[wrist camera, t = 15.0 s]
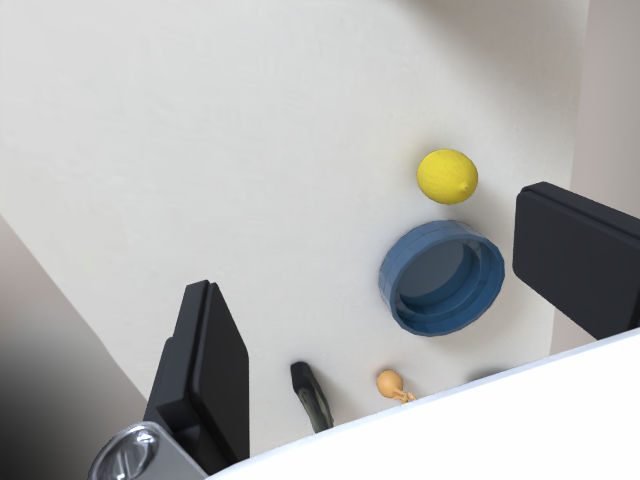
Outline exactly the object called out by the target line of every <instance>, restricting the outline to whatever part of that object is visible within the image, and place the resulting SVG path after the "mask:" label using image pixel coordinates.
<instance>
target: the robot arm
mask: <svg viewBox="0 0 640 480" xmlns="http://www.w3.org/2000/svg"><path fill="white" fill-rule="evenodd" d="M512 267H513V271H514V273H515V275H516V276H517V277H518V278H519V279H521V280H522V281H523V282H524V283H526V284H527V285H528V286H530V287H531V288H532V289H533V290H535V291H536V292H537V293H538V294H540V295H541V296H542V297H543V298H545V299H546V300H547V301H549V302H550V303H551V304H552V305H554V306H555V307H556V308H557V309H559V310H560V311H562V312H563V313H564V314H565V315H566V316H567V317H569V318H570V319H571V320H573V321H574V322H575V323H576V324H578V325H579V326H580V327H581V328H583V329H584V330H585V331H587V332H588V333H589V334H590V335H592V336H593V337H594V338H596V339H597V340H598V341H596V342H593V343H589V344H586V345H583V346H580V347H577V348H574V349H571V350H567V351H564V352H561V353H558V354H555V355H552V356H549V357H546V358H543V359H540V360H537V361H533V362H530V363H527V364H524V365H521V366H518V367H515V368H512V369H509V370H506V371H503V372H500V373H497V374H494V375H490V376H487V377H484V378H481V379H478V380H475V381H472V382H469V383H466V384H463V385H460V386H457V387H454V388H451V389H448V390H445V391H442V392H439V393H436V394H433V395H429V396H426V397H423V398H420V399H417V400H414V401H411V402H408V403H405V404H402V405H399V406H396V407H393V408H390V409H387V410H384V411H381V412H378V413H375V414H372V415H369V416H366V417H363V418H360V419H357V420H354V421H351V422H348V423H345V424H342V425H339V426H336V427H334V428H331V429H328V430H325V431H322V432H319V433H316V434H314V435H311V436H308V437H305V438H302V439H299V440H296V441H294V442H291V443H288V444H285V445H282V446H279V447H277V448H274V449H271V450H268V451H266V452H263V453H261V454H259V455H256V456H254V457H251V458H250V441H249V357H248V352H247V349H246V346H245V344H244V342H243V340H242V338H241V335H240V333H239V331H238V329H237V327H236V324H235V322H234V320H233V318H232V315H231V313H230V311H229V309H228V307H227V304H226V302H225V300H224V298H223V296H222V293H221V291H220V289H219V287H218V285H217V284H216V283H211V284H210V282H209V281H208V280H204V281H200V282H197V283H193V284H190V285H187V286H186V289H185V293H184V297H183V300H182V304H181V308H180V312H179V315H178V319H177V323H176V326H175V330H174V334H173V337H170V338H169V339H167V341H166V343H165V346H164V349H163V352H162V356H161V359H160V363H159V366H158V370H157V373H156V377H155V380H154V384H153V387H152V391H151V394H150V397H149V401H148V404H147V408H146V411H145V415H144V418H143V422H140V423H136V424H134V425H132V426H129V427H127V428H125V429H124V430H122V431H121V432H120V433H118V434H117V435H116V436H114V437H113V438H112V439H111V440H110V441H109V442H108V443H107V444H106V445H105V446H104V447H103V448H102V449H101V451H100V452H99V454H98V455H97V457H96V458H95V459H94V461H93V463H92V465H91V468H90V470H89V472H88V478H87V480H640V219H638V218H636V217H633V216H631V215H628V214H626V213H623V212H621V211H618V210H615V209H613V208H610V207H608V206H605V205H603V204H600V203H598V202H595V201H593V200H590V199H588V198H585V197H583V196H580V195H578V194H575V193H573V192H570V191H568V190H565V189H563V188H560V187H558V186H555V185H553V184H550V183H548V182H540V183H536V184H533V185H529V186H526V187H524V188H522V190H521V192H520V193H519V194H518V195H517V199H516V213H515V230H514V247H513V263H512Z"/></svg>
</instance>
